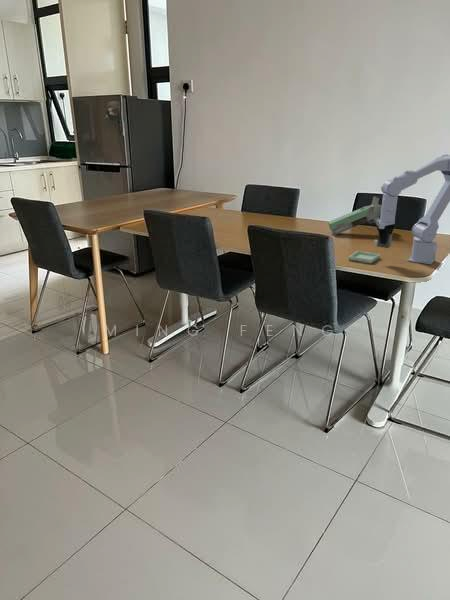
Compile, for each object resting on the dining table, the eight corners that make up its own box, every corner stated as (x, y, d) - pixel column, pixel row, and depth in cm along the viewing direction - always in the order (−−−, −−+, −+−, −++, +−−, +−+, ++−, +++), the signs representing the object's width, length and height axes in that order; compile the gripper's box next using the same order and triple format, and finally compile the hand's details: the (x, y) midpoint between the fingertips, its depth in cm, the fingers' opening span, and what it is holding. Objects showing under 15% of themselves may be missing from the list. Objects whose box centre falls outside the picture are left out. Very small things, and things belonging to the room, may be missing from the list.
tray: (379, 258, 199) (379, 254, 198) (371, 264, 190) (371, 260, 190) (357, 254, 204) (357, 250, 203) (348, 260, 196) (348, 256, 195)
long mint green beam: (396, 229, 238) (386, 194, 231) (339, 252, 242) (327, 218, 235) (391, 226, 245) (382, 192, 238) (335, 249, 249) (324, 216, 242)
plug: (390, 246, 190) (392, 233, 188) (388, 248, 188) (390, 235, 186) (375, 244, 194) (376, 231, 192) (372, 245, 191) (374, 233, 189)
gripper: (384, 206, 192) (380, 238, 197) (373, 212, 181) (369, 245, 186) (401, 208, 189) (396, 240, 194) (390, 214, 178) (386, 247, 182)
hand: (384, 242), depth 190 cm, fingers closed on plug, 3 cm apart
